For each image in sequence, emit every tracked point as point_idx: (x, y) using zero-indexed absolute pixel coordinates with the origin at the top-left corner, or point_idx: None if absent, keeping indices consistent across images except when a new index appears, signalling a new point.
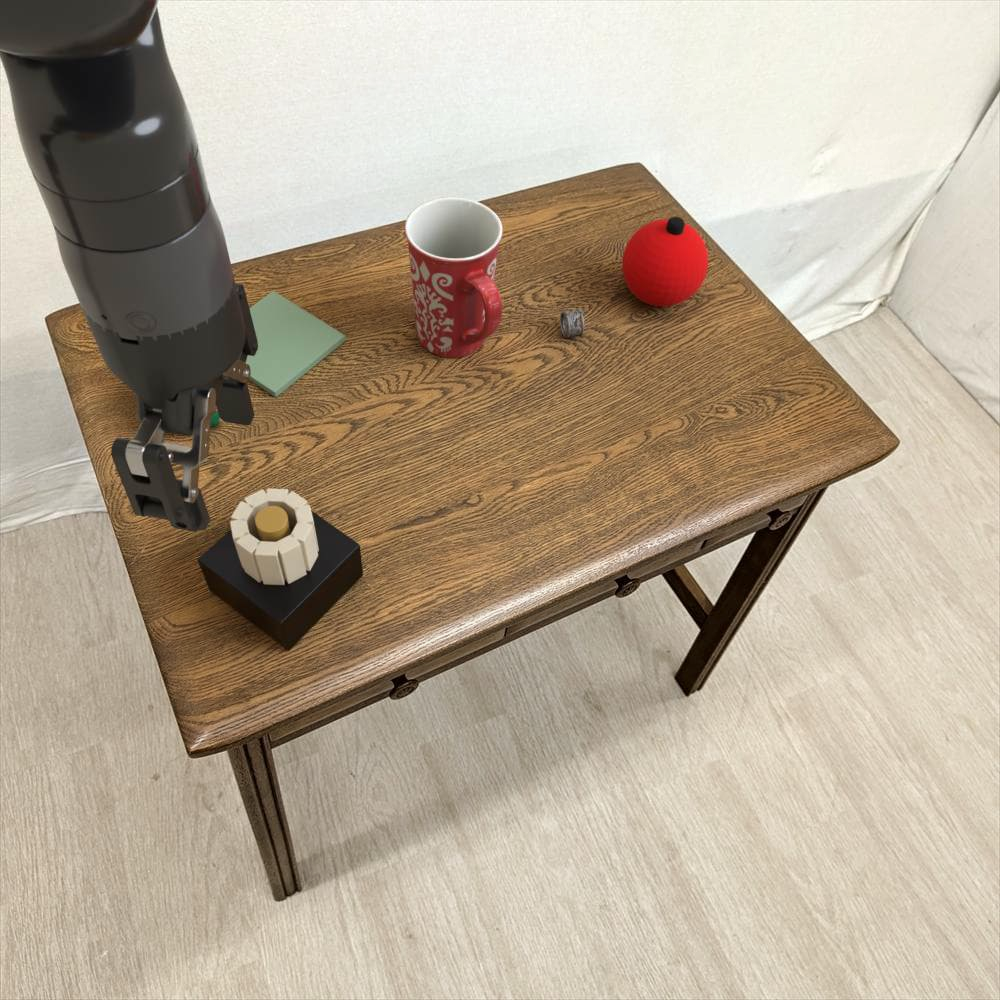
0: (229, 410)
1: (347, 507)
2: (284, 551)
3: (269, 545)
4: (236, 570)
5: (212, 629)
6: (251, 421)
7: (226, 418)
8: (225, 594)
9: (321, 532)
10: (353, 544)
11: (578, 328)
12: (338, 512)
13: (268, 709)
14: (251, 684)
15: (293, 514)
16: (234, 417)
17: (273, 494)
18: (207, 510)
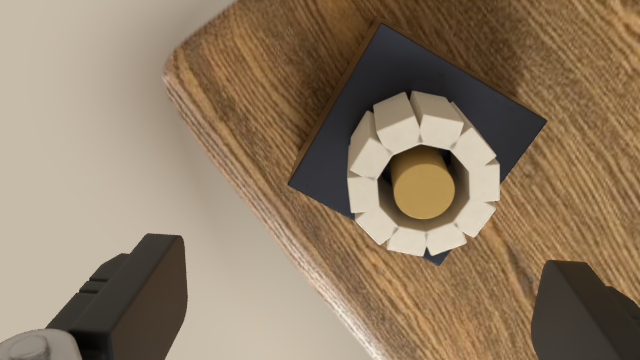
0: (561, 321)
1: (545, 183)
2: (361, 223)
3: (370, 197)
4: (368, 95)
5: (312, 40)
6: (536, 352)
7: (547, 282)
8: (353, 60)
9: None
10: (437, 258)
11: None
12: (535, 172)
13: (214, 147)
14: (242, 117)
15: (452, 208)
16: (547, 312)
17: (484, 178)
18: (167, 351)
